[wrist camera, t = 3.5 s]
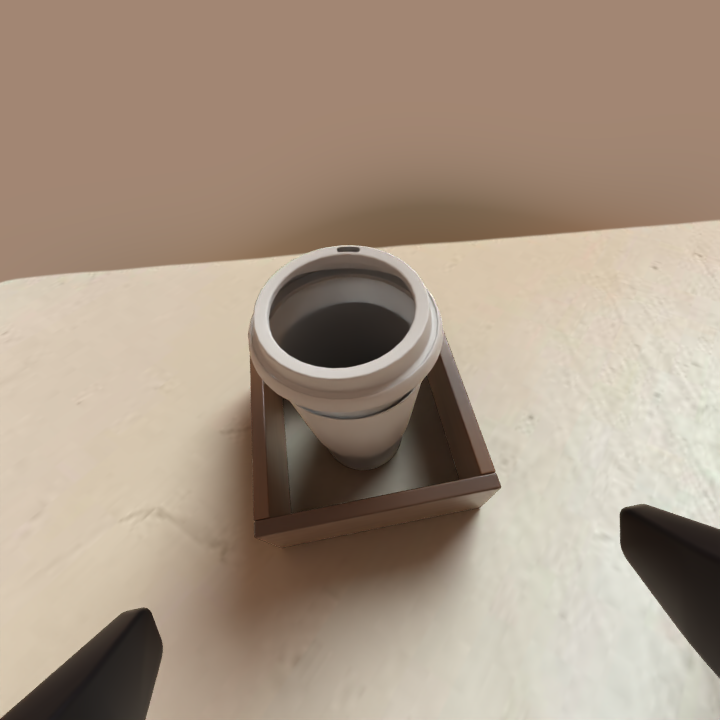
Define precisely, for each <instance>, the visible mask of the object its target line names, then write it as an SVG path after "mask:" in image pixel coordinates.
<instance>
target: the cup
mask: <svg viewBox="0 0 720 720" xmlns="http://www.w3.org/2000/svg"><path fill="white" fill-rule="evenodd" d="M248 339H249V351H250V356H251V359H252V362H253V365H254V367H255V369H256V371H257V373H258V374H259V376H260V377H261V378H262V380H263V381H264V382H265V383H266V384H267V385H268V386H269V387H270V388H271V389H272V390H273V391H274V392H276V393H277V394H278V395H280V396H282V397H283V398H285V399H287V400H289V401H290V402H291V403H292V405H293V406H294V407H295V409H296V410H297V412H298V413H299V414H300V416H301V417H302V418H303V420H304V421H305V422H306V424H307V425H308V426H309V428H310V429H311V430H312V432H313V433H314V435H315V436H316V437H317V439H318V440H319V441H320V442H321V443H322V444H323V445H324V446H326V447H327V448H328V449H329V451H330V452H331V454H332V455H333V456H334V457H335V459H336V460H338V461H339V462H340V463H341V464H343V465H345V466H347V467H349V468H352V469H357V470H369V469H374V468H377V467H379V466H381V465H383V464H385V463H386V462H387V461H389V460H390V459H391V458H392V457H393V456H394V454H395V453H396V451H397V449H398V447H399V445H400V442H401V438H402V435H403V433H404V432H405V430H406V429H407V426H408V423H409V420H410V417H411V414H412V411H413V407H414V404H415V401H416V398H417V394H418V391H419V388H420V385H421V382H422V380H423V379H424V378H425V377H426V376H427V374H428V373H429V372H430V371H431V369H432V368H433V366H434V364H435V363H436V361H437V359H438V356H439V354H440V351H441V347H442V343H443V323H442V318H441V314H440V311H439V308H438V306H437V304H436V301H435V299H434V297H433V296H432V294H431V293H430V292H429V290H428V289H427V288H426V287H425V285H424V283H423V281H422V280H421V278H420V277H419V275H418V274H417V273H416V271H414V270H413V269H412V268H411V267H410V266H409V265H408V264H407V263H405V262H404V261H402V260H401V259H399V258H397V257H396V256H394V255H392V254H389V253H387V252H384V251H381V250H379V249H374V248H369V247H364V246H351V245H347V246H333V247H327V248H322V249H318V250H315V251H312V252H309V253H306V254H303V255H301V256H299V257H297V258H295V259H293V260H291V261H290V262H288V263H287V264H286V265H284V266H283V267H281V268H280V269H279V270H277V271H276V272H275V273H274V274H273V275H272V276H271V277H270V278H269V279H268V281H267V282H266V284H265V285H264V287H263V288H262V289H261V291H260V293H259V295H258V298H257V300H256V303H255V307H254V313H253V315H252V318H251V321H250V326H249V332H248Z"/></svg>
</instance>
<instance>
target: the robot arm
mask: <svg viewBox="0 0 720 720" xmlns="http://www.w3.org/2000/svg"><path fill="white" fill-rule="evenodd" d="M620 544H621V548H622V551H623V554H624V555H625V557H626V559H627V560H628V562H629V563H630V564H631V566H632V567H633V568H634V570H635V571H636V572H637V574H638V575H639V576H640V578H641V579H642V581H643V582H644V583H645V585H646V586H647V587H648V589H649V590H650V591H651V593H652V594H653V595H654V597H655V598H656V599H657V601H658V602H659V603H660V605H661V606H662V608H663V609H664V610H665V612H666V613H667V614H668V616H669V617H670V618H671V620H672V621H673V622H674V624H675V625H676V626H677V628H678V629H679V630H680V632H681V633H682V634H683V635H684V637H685V638H686V639H687V641H688V642H689V643H690V644H691V646H692V647H693V648H694V649H695V650H696V652H697V653H698V654H699V655H700V656H701V658H702V659H703V660H704V661H705V662H706V663H707V665H708V666H709V667H710V668H711V669H712V670H713V671H714V673H715V674H716V675H717V676H718V677H719V678H720V529H717V528H714V527H711V526H708V525H705V524H702V523H699V522H696V521H693V520H691V519H688V518H685V517H682V516H679V515H676V514H673V513H670V512H667V511H664V510H661V509H658V508H655V507H652V506H649V505H646V504H639V505H634V506H629V507H625V508H623V509H622V510H621V512H620ZM162 652H163V645H162V640H161V637H160V634H159V632H158V629H157V626H156V624H155V621H154V618H153V616H152V613H151V611H150V610H149V609H148V608H139V609H134V610H129V611H126V612H123V613H121V614H120V615H119V616H118V617H117V618H115V619H114V620H113V621H112V622H111V623H110V624H109V625H107V626H106V627H105V628H104V629H103V630H102V631H101V632H99V633H98V634H97V635H96V636H95V637H94V638H93V639H91V640H90V641H89V642H88V643H87V644H86V645H84V646H83V647H82V648H81V649H80V650H79V651H78V652H76V653H75V654H74V655H73V656H72V657H71V658H70V659H68V660H67V661H66V662H65V663H64V664H63V665H62V666H60V667H59V668H58V669H57V670H56V671H55V672H53V673H52V674H51V675H50V676H49V677H48V678H47V679H45V680H44V681H43V682H42V683H41V684H40V685H39V686H37V687H36V688H35V689H34V690H33V691H32V692H31V693H29V694H28V695H27V696H26V697H25V698H24V699H22V700H21V701H20V702H19V703H18V704H17V705H16V706H14V707H13V708H12V709H11V710H10V711H9V712H8V713H6V714H5V715H4V716H3V717H2V718H1V719H0V720H145V719H146V715H147V711H148V708H149V704H150V700H151V696H152V693H153V689H154V685H155V681H156V677H157V674H158V670H159V666H160V662H161V658H162Z"/></svg>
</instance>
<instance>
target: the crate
mask: <svg viewBox="0 0 720 720" xmlns="http://www.w3.org/2000/svg"><path fill="white" fill-rule="evenodd" d="M250 375H251V418H252V461H253V504H254V521H255V522H254V536H255V538H257V539H260V540H262V541H265V542H268V543H270V544H273V545H275V546H278V547H281V548H284V547H288V546H293V545H298V544H303V543H308V542H313V541H318V540H323V539H328V538H333V537H338V536H342V535H347V534H352V533H357V532H362V531H367V530H372V529H377V528H382V527H387V526H391V525H396V524H401V523H406V522H411V521H416V520H421V519H426V518H431V517H436V516H441V515H445V514H450V513H455V512H460V511H465V510H470V509H475V508H480V507H481V506H482V505H483V504H485V503H486V502H487V501H488V500H489V499H490V498H491V497H492V496H493V495H494V494H495V493H496V492H497V491H498V490H499V489H500V488H501V485H500V482H499V479H498V477H497V474H496V473H495V469H494V466H493V463H492V460H491V458H490V455H489V452H488V450H487V447H486V444H485V441H484V439H483V436H482V433H481V431H480V428H479V425H478V422H477V420H476V417H475V414H474V412H473V409H472V406H471V403H470V401H469V398H468V395H467V393H466V390H465V387H464V385H463V382H462V379H461V376H460V374H459V371H458V368H457V366H456V363H455V360H454V357H453V355H452V352H451V349H450V347H449V344H448V341H447V338H446V336H445V333H444V330H443V343H442V347H441V351H440V354H439V356H438V359H437V361H436V363H435V364H434V366H433V368H432V369H431V371H430V372H429V373H428V374H427V378H428V381H429V384H430V387H431V390H432V393H433V397H434V400H435V403H436V406H437V409H438V413H439V416H440V419H441V422H442V425H443V428H444V432H445V435H446V438H447V441H448V444H449V448H450V451H451V454H452V457H453V460H454V463H455V467H456V470H457V473H458V476H459V479H460V480H456V481H451V482H446V483H441V484H436V485H431V486H426V487H421V488H416V489H411V490H406V491H401V492H396V493H391V494H386V495H381V496H376V497H371V498H366V499H361V500H357V501H352V502H347V503H342V504H337V505H332V506H327V507H322V508H317V509H312V510H307V511H302V512H297V513H292V514H291V505H290V492H289V478H288V464H287V451H286V437H285V424H284V410H283V397H282V396H280V395H278V394H277V393H276V392H274V391H273V390H272V389H271V388H270V387H269V386H268V385H267V384H266V383H265V382H264V381H263V380H262V378H261V377H260V376H259V374H258V373H257V371H256V369H255V367H254V365H253V362H252V359H251V356H250Z"/></svg>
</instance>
